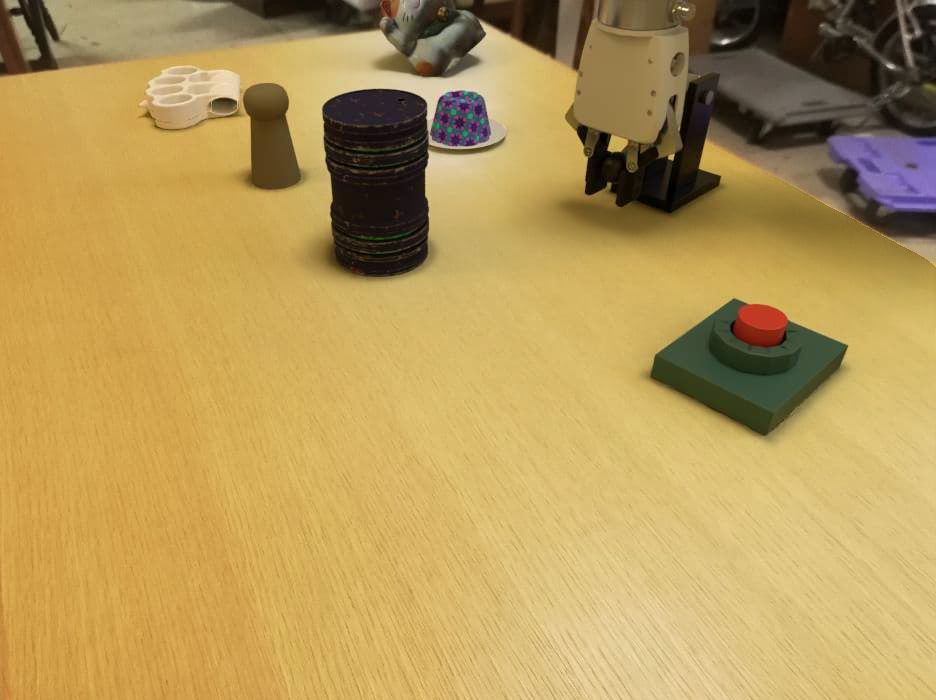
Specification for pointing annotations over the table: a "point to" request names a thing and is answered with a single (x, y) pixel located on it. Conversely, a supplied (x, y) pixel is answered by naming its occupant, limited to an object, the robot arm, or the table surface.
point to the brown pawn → (270, 137)
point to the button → (760, 325)
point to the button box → (747, 368)
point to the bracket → (683, 155)
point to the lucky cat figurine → (430, 32)
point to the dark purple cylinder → (378, 179)
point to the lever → (625, 153)
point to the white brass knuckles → (191, 95)
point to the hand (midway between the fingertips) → (610, 195)
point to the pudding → (463, 122)
